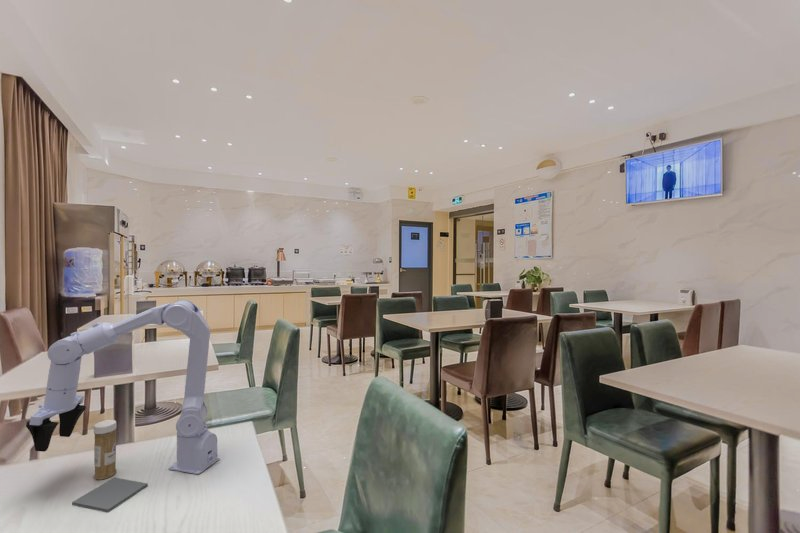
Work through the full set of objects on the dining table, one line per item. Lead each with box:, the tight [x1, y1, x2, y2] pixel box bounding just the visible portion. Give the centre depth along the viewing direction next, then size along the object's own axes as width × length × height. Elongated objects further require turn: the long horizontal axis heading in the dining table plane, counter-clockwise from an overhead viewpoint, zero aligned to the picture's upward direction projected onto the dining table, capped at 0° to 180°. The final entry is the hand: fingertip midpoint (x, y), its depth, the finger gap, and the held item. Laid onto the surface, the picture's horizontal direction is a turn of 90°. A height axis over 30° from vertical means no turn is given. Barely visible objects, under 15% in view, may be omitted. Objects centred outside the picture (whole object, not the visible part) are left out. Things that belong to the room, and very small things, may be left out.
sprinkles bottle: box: [93, 419, 117, 481], centre depth 98 cm, size 5×5×13 cm
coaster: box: [71, 477, 149, 513], centre depth 90 cm, size 10×10×1 cm
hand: (53, 443), depth 93 cm, fingers open, 7 cm apart
